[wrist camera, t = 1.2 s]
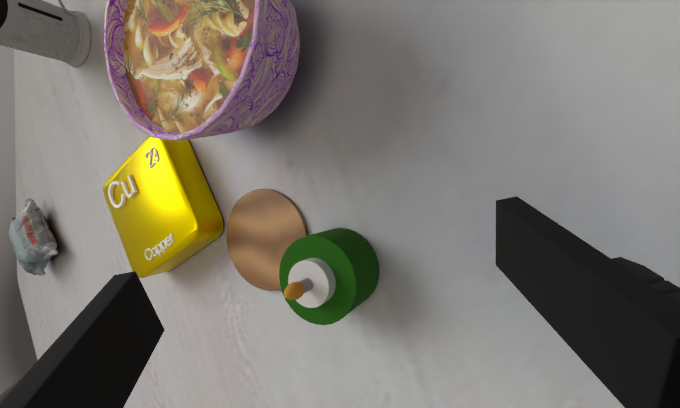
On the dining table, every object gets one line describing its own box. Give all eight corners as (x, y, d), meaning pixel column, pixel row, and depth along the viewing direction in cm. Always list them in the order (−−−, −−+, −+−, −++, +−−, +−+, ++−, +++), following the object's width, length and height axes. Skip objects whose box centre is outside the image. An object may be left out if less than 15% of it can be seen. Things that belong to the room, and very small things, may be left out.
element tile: (164, 275, 50) (131, 284, 46) (129, 185, 53) (95, 186, 49) (229, 230, 44) (198, 236, 40) (186, 130, 46) (152, 125, 42)
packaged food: (46, 197, 65) (12, 199, 60) (69, 251, 62) (35, 256, 58) (31, 223, 68) (-2, 227, 64) (53, 275, 66) (19, 282, 62)
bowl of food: (182, 29, 45) (84, -14, 35) (303, -71, 36) (218, -168, 26) (222, 173, 44) (131, 172, 34) (359, 107, 35) (291, 77, 24)
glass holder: (56, 43, 60) (-76, 4, 46) (88, -30, 54) (-51, -98, 41) (76, 78, 58) (-57, 48, 44) (112, 6, 52) (-28, -54, 39)
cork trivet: (219, 205, 44) (216, 205, 44) (292, 175, 39) (290, 175, 38) (243, 296, 44) (240, 297, 43) (321, 279, 38) (319, 280, 38)
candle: (385, 238, 34) (338, 259, 25) (371, 316, 36) (322, 362, 27) (314, 220, 38) (252, 233, 29) (304, 291, 39) (241, 324, 30)
